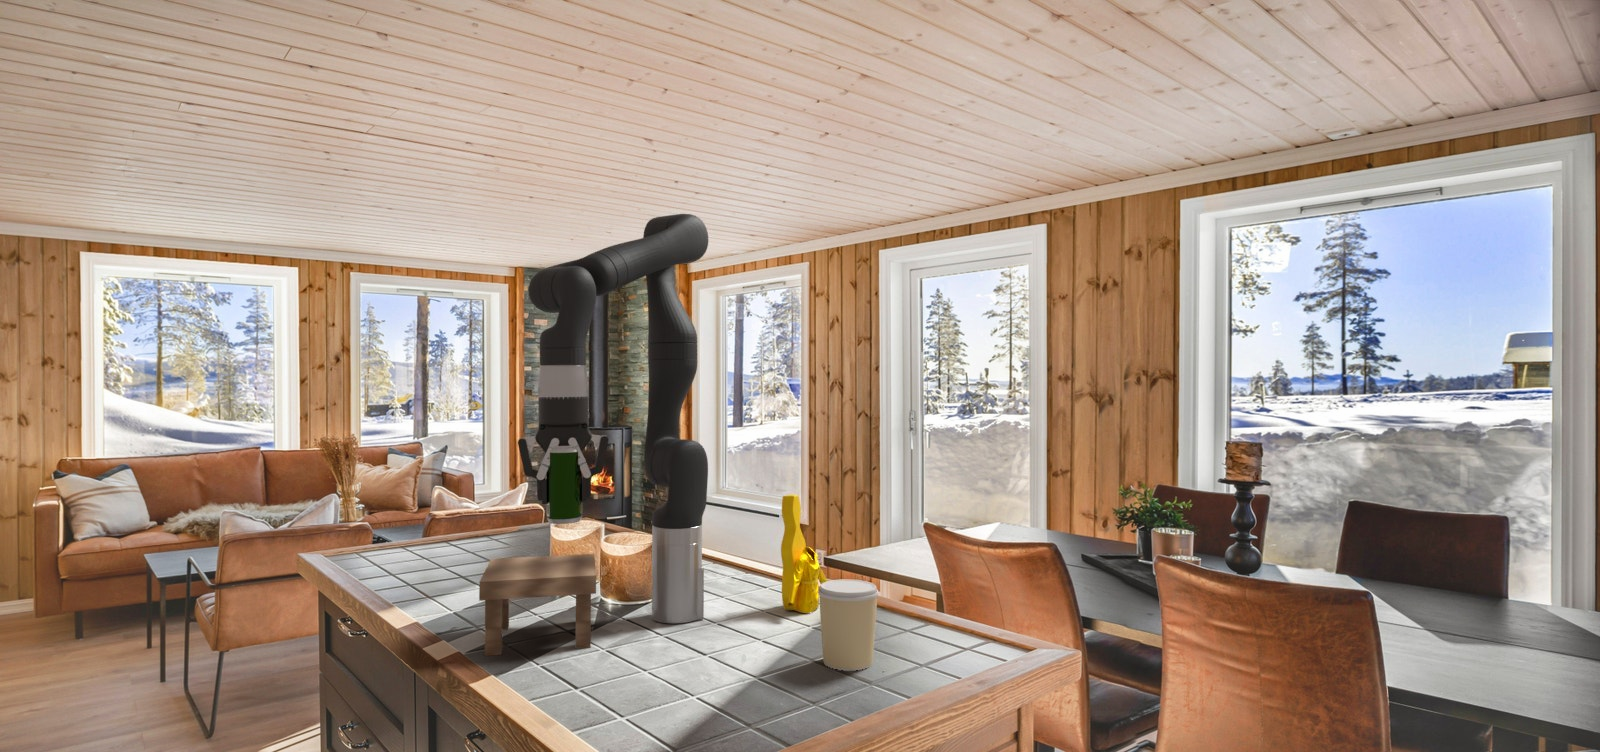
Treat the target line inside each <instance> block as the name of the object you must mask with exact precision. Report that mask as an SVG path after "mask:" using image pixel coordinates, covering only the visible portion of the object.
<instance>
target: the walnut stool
mask: <svg viewBox="0 0 1600 752" xmlns="http://www.w3.org/2000/svg"><path fill="white" fill-rule="evenodd" d="M596 570H597V568H596V558H595V553H583V554H565V555H563V554H562V555H545V556H544V555H542V556H524V557H523V556H521V557H503V558H501V557H499V558H491V559H490V560H489V562H488V565H487V566H486V568H485V570H484V572H483V574H482V576H481V577H480V579H479V584H478V585H479V587H478V588H479V591H478V592H479V593H478V594H479V595H478V596H479V597H478V599H479V601H482V602H483V601H484V656H497V655H499V656H500V655H502V652H503V651H502V650H503V631H505V630H509V628H510V600H512V599H529V598H547V597H563V596H575V649H588V648H590V649H591V648H592V647H591V646H592V645H591V643H592V642H591V641H592V640H591V639H592V638H591V636H592V634H591V633H592V632H591V631H592V626H591V625H592V624H591V623H592V622H591V621H592V609H591V608H592V602H591V601H592V595H593V594H597V571H596Z"/></svg>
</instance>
